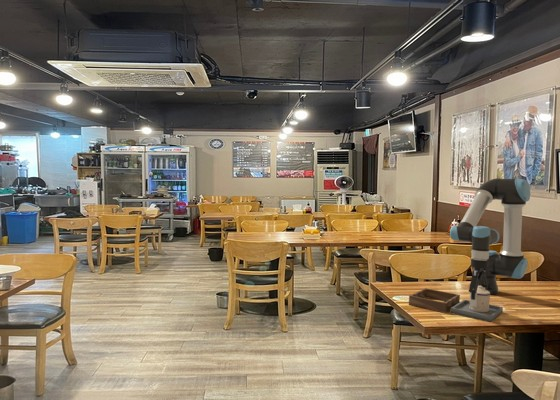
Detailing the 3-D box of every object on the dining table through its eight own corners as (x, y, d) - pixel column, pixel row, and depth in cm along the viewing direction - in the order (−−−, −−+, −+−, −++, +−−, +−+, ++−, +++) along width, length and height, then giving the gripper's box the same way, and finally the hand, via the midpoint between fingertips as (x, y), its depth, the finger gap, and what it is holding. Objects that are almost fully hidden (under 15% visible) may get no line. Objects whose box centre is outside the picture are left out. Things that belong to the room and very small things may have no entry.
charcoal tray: (463, 304, 218) (464, 299, 218) (502, 312, 207) (502, 307, 206) (450, 313, 203) (450, 307, 203) (491, 322, 191) (491, 316, 191)
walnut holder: (424, 296, 231) (425, 288, 230) (459, 303, 219) (459, 294, 219) (408, 304, 215) (409, 295, 214) (445, 312, 203) (445, 303, 203)
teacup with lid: (475, 306, 212) (477, 282, 211) (493, 311, 204) (494, 287, 204) (461, 309, 206) (462, 285, 205) (478, 314, 198) (479, 290, 197)
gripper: (478, 254, 215) (476, 296, 216) (463, 261, 196) (460, 307, 197) (495, 256, 210) (492, 299, 212) (480, 263, 191) (478, 310, 193)
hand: (477, 303), depth 205 cm, fingers open, 13 cm apart
